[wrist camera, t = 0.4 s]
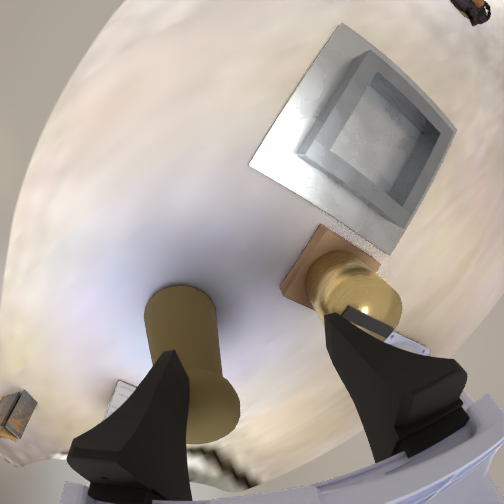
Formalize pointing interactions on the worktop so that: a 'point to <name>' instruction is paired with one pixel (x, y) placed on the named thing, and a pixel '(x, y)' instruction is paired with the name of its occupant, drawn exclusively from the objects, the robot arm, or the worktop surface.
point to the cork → (194, 358)
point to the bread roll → (473, 10)
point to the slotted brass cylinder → (353, 293)
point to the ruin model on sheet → (15, 415)
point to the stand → (315, 248)
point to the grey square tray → (358, 140)
